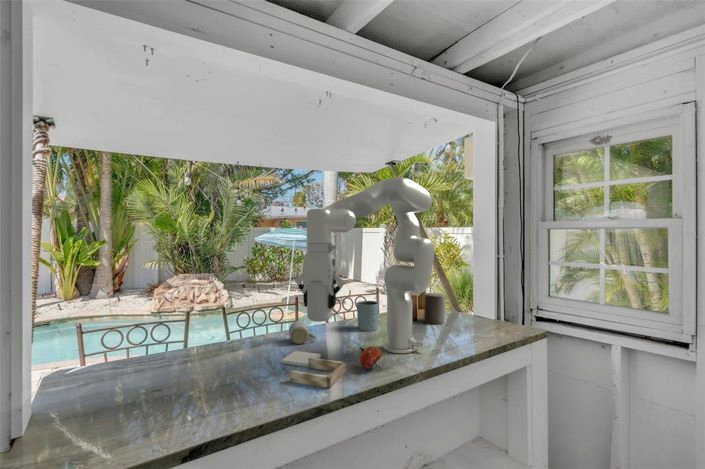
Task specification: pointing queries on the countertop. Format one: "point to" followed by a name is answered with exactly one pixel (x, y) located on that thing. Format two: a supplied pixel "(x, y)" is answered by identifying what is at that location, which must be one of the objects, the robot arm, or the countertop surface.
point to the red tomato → (369, 357)
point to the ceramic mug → (300, 333)
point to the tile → (299, 358)
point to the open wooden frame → (320, 380)
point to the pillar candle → (434, 308)
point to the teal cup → (367, 315)
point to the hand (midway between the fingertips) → (319, 306)
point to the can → (318, 302)
